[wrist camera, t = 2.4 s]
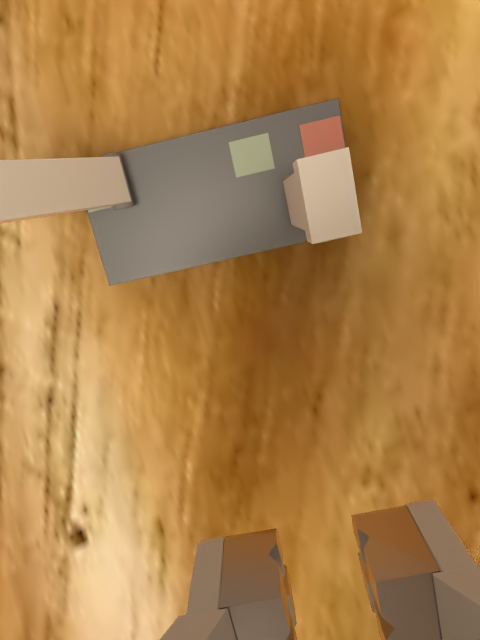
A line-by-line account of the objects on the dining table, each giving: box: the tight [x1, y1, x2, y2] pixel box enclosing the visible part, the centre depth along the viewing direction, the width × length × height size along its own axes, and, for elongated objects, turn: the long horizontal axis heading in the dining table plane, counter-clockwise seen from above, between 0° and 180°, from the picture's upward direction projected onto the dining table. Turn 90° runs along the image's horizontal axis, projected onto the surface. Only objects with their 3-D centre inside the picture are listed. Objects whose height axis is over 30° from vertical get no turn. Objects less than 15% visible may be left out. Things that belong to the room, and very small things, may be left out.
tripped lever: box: [283, 147, 362, 244], centre depth 25 cm, size 4×2×13 cm, turn 12°
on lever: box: [0, 152, 134, 223], centre depth 26 cm, size 4×2×13 cm
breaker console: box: [87, 98, 346, 286], centre depth 33 cm, size 9×19×3 cm, turn 103°
